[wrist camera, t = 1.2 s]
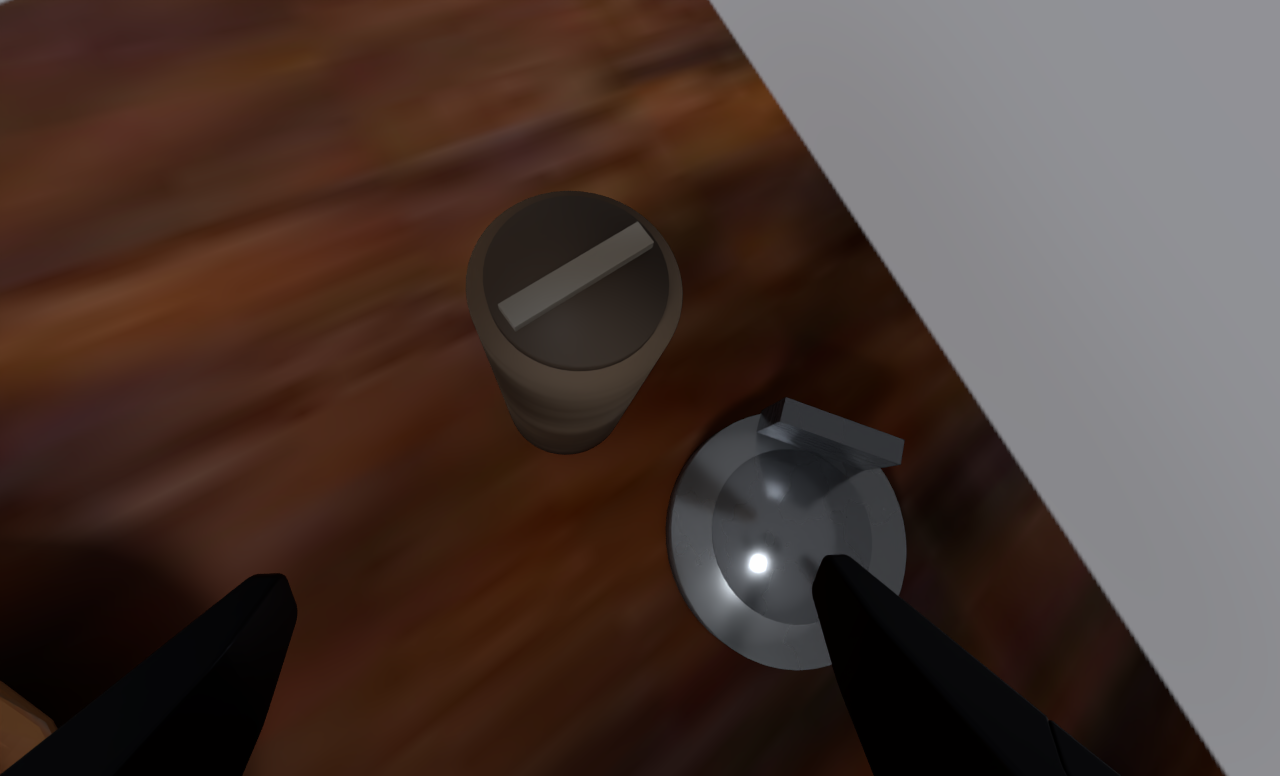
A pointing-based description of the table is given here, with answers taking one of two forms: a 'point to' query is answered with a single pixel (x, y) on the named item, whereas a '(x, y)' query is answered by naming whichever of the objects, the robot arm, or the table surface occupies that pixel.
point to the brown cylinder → (572, 312)
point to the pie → (20, 726)
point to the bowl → (781, 526)
